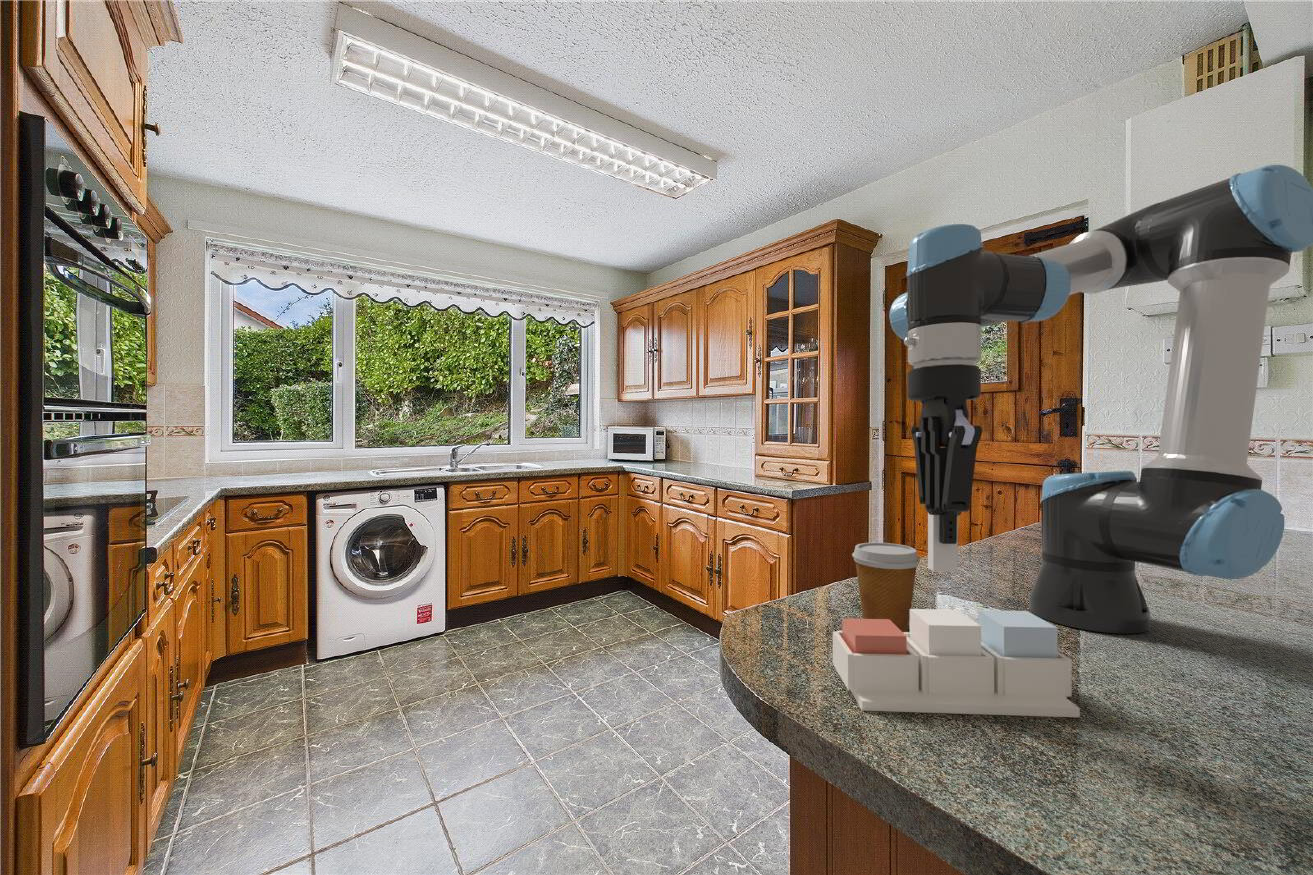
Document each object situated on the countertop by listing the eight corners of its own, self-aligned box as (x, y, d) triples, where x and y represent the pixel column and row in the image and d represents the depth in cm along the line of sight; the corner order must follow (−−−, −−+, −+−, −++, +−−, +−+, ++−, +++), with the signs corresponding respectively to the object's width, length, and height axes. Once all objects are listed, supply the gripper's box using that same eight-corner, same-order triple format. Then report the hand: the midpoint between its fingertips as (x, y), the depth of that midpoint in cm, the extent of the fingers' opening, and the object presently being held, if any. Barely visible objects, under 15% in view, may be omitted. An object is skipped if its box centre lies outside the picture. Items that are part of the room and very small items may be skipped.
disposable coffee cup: (928, 640, 78) (927, 556, 78) (857, 635, 80) (857, 553, 80) (911, 618, 87) (910, 542, 87) (848, 614, 89) (848, 541, 89)
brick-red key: (889, 652, 67) (889, 619, 67) (906, 672, 61) (906, 636, 61) (842, 650, 67) (842, 618, 67) (855, 670, 62) (855, 635, 62)
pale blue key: (1026, 644, 66) (1026, 611, 66) (1057, 664, 60) (1057, 627, 60) (978, 643, 66) (978, 610, 66) (1003, 662, 60) (1004, 626, 60)
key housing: (1020, 668, 69) (1020, 628, 69) (1087, 717, 57) (1087, 669, 57) (828, 663, 71) (827, 624, 71) (854, 710, 59) (854, 663, 59)
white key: (957, 642, 66) (957, 609, 66) (981, 662, 61) (981, 626, 61) (909, 641, 67) (909, 608, 67) (928, 660, 61) (928, 625, 61)
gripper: (890, 372, 70) (889, 556, 70) (933, 359, 57) (932, 584, 57) (951, 372, 70) (950, 557, 70) (1008, 358, 57) (1008, 586, 57)
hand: (942, 569), depth 64 cm, fingers closed
